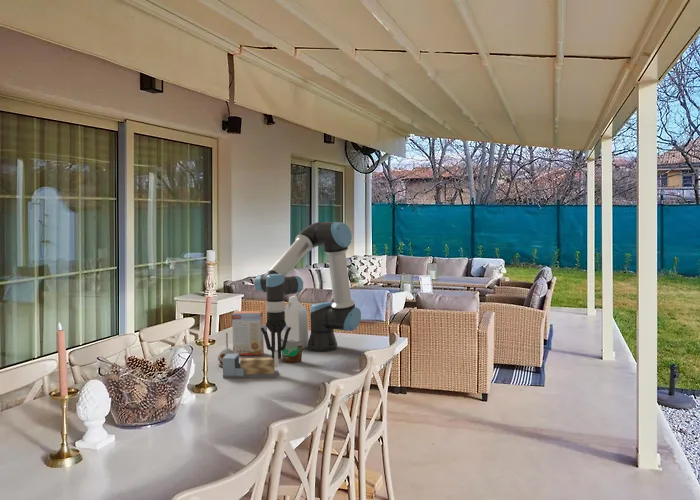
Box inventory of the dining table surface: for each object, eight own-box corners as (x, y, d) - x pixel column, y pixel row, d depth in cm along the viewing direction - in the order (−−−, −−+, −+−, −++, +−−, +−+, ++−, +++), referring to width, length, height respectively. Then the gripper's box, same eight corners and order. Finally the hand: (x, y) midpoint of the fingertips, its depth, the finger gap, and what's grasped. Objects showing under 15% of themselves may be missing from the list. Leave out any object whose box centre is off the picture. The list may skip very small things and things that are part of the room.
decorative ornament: (217, 368, 272) (216, 334, 271) (220, 363, 280) (219, 331, 279) (235, 367, 273) (234, 334, 272) (237, 363, 281) (236, 331, 280)
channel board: (278, 371, 265) (278, 352, 264) (274, 378, 254) (274, 359, 253) (228, 371, 266) (228, 352, 265) (222, 378, 255) (221, 359, 254)
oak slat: (274, 371, 262) (274, 357, 262) (274, 373, 258) (273, 359, 258) (241, 372, 261) (241, 358, 261) (240, 374, 257) (240, 360, 257)
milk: (288, 343, 321) (287, 294, 319) (308, 345, 317) (308, 295, 315) (278, 348, 310) (277, 297, 308) (299, 350, 306) (298, 298, 304)
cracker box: (264, 353, 300) (263, 310, 299) (261, 356, 294) (260, 312, 293) (236, 352, 302) (235, 310, 300) (232, 355, 296) (231, 312, 294)
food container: (274, 362, 282) (273, 340, 282) (281, 359, 288) (281, 338, 287) (296, 364, 277) (296, 343, 276) (304, 361, 282) (303, 340, 281)
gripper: (292, 309, 261) (293, 363, 263) (261, 309, 262) (263, 363, 263) (290, 312, 254) (290, 368, 255) (258, 312, 254) (259, 368, 256)
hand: (276, 366), depth 259 cm, fingers closed
